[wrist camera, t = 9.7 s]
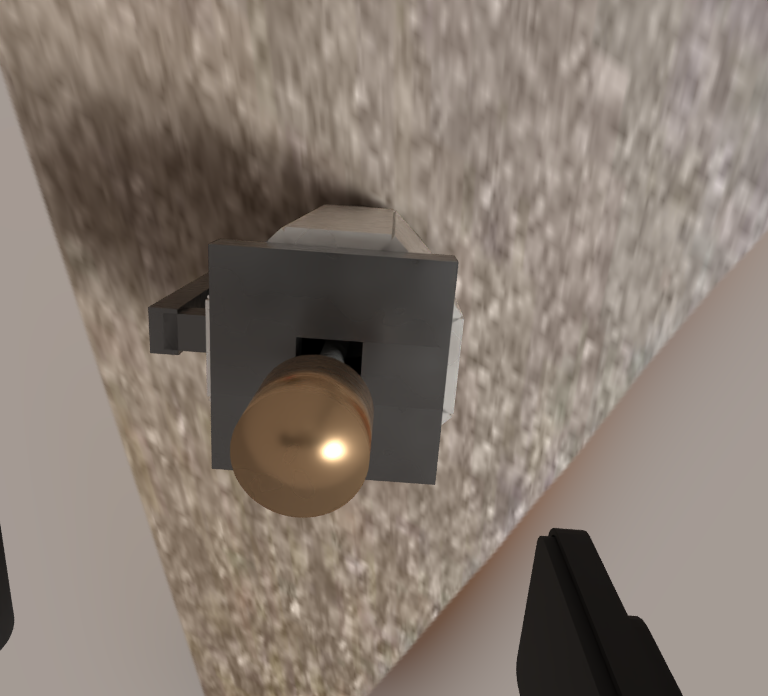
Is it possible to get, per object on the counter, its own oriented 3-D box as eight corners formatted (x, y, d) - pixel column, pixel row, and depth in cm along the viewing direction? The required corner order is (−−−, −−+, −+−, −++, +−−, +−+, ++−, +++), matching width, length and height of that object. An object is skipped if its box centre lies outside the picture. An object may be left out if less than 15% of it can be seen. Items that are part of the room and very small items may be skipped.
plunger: (415, 242, 33) (439, 342, 15) (406, 356, 35) (416, 573, 16) (296, 234, 33) (166, 323, 15) (293, 348, 35) (175, 556, 17)
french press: (444, 211, 35) (478, 245, 21) (429, 369, 38) (449, 499, 23) (226, 195, 35) (102, 218, 21) (227, 354, 38) (119, 475, 23)
